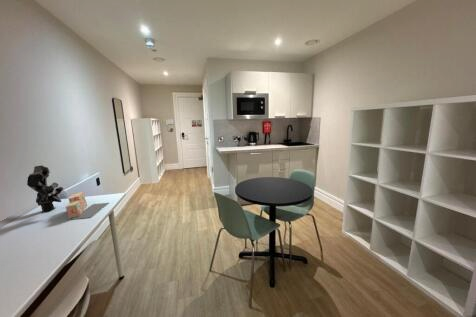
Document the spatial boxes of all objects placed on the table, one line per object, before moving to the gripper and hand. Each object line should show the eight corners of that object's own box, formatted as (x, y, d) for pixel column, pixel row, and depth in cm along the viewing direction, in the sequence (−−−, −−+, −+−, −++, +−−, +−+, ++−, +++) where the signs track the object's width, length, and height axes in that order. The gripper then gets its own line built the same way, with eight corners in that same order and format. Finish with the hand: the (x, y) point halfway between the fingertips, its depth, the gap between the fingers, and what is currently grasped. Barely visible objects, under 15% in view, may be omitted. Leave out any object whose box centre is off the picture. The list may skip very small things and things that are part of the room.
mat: (71, 219, 140) (71, 219, 140) (92, 204, 163) (92, 204, 163) (90, 217, 141) (90, 217, 141) (109, 203, 164) (109, 202, 164)
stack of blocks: (79, 216, 143) (74, 200, 140) (68, 218, 140) (63, 203, 138) (87, 205, 162) (83, 191, 159) (78, 207, 160) (73, 193, 157)
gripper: (35, 185, 135) (56, 199, 138) (57, 176, 153) (76, 189, 156) (26, 197, 136) (47, 210, 139) (50, 187, 154) (68, 199, 157)
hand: (60, 201), depth 148 cm, fingers closed
